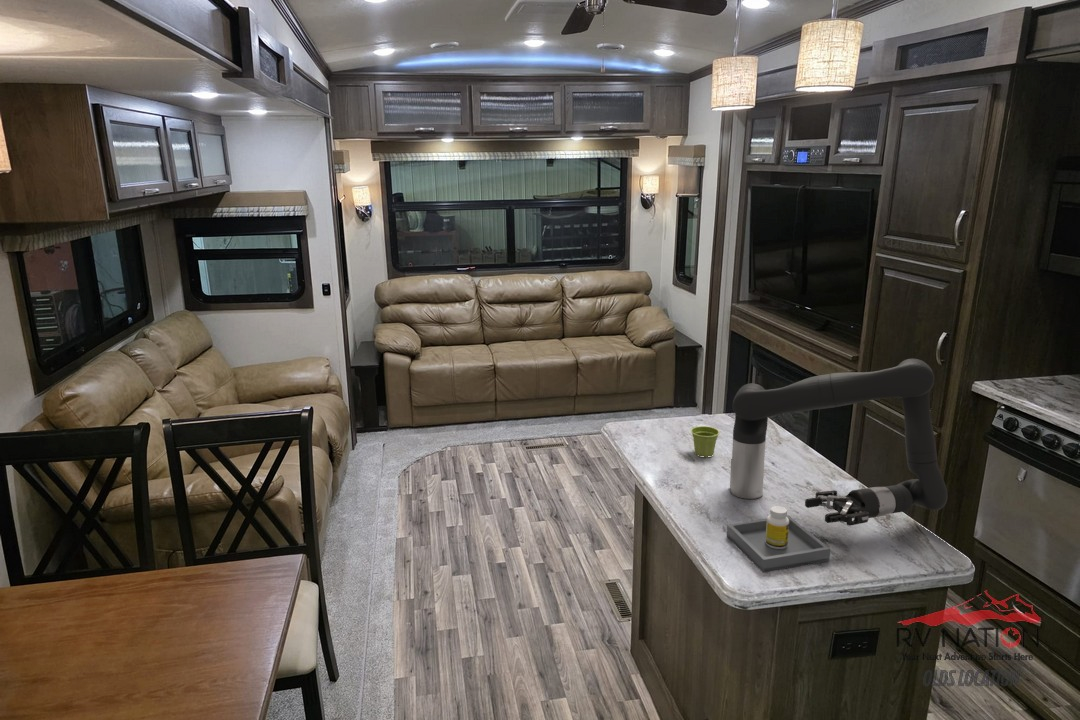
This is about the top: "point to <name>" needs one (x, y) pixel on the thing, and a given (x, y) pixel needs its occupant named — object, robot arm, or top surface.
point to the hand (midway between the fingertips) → (815, 510)
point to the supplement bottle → (777, 528)
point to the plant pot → (704, 440)
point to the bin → (767, 559)
